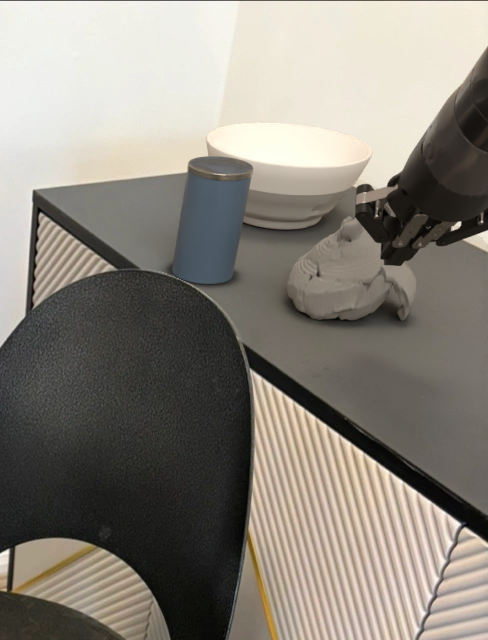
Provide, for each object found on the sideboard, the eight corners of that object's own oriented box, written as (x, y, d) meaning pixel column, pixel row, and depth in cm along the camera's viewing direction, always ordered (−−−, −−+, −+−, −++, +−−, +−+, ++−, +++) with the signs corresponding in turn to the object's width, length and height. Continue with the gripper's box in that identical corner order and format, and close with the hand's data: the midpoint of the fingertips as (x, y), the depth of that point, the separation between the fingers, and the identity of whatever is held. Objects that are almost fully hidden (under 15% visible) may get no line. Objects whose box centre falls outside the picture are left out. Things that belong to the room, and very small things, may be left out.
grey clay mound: (331, 360, 111) (332, 259, 104) (267, 316, 120) (263, 220, 112) (436, 313, 112) (443, 210, 105) (365, 273, 121) (367, 174, 113)
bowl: (337, 253, 128) (356, 176, 122) (174, 225, 134) (186, 151, 128) (366, 207, 141) (385, 136, 135) (217, 183, 147) (229, 114, 142)
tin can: (209, 259, 125) (227, 153, 118) (245, 279, 121) (267, 170, 114) (159, 267, 123) (175, 159, 116) (194, 287, 119) (213, 177, 111)
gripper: (566, 102, 84) (467, 220, 101) (390, 93, 84) (320, 212, 102) (562, 198, 83) (463, 300, 101) (385, 188, 84) (316, 291, 101)
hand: (391, 255), depth 101 cm, fingers closed
